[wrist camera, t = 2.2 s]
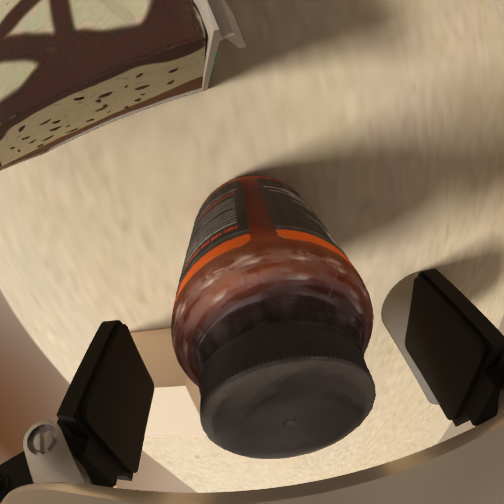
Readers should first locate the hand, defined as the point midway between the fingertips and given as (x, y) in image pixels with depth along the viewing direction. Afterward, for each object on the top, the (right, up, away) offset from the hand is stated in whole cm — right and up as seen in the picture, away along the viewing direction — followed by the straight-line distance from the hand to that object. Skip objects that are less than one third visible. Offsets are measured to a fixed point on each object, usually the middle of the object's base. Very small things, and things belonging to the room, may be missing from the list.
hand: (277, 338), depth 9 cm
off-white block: (-6, -4, +10) cm, 13 cm away
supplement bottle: (-1, +4, +7) cm, 8 cm away
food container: (-8, +12, +3) cm, 15 cm away
